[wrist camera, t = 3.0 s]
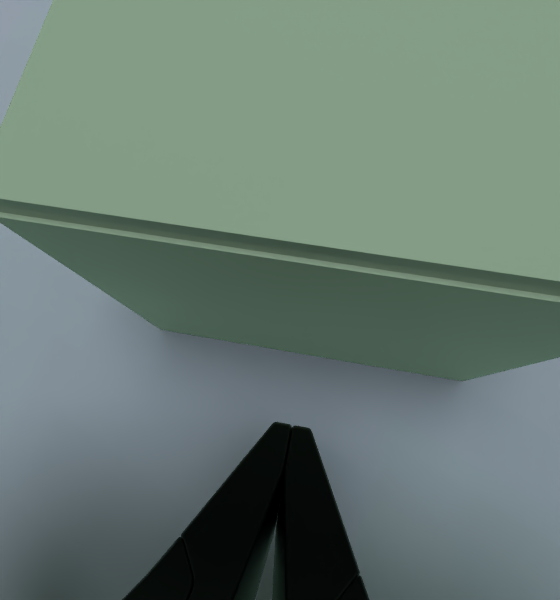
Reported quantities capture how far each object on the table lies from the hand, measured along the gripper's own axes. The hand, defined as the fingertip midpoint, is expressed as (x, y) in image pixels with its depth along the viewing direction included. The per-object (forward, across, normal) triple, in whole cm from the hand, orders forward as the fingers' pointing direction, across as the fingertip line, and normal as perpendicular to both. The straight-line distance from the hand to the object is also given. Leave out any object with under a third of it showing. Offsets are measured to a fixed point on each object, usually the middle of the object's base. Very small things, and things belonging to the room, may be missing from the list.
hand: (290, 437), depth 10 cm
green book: (+9, 0, +1) cm, 9 cm away
